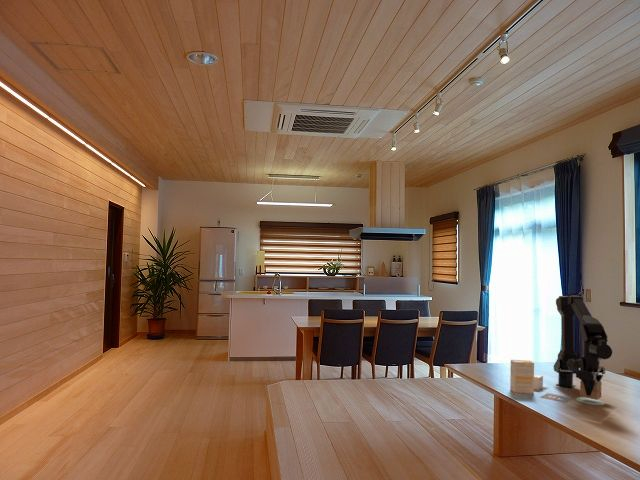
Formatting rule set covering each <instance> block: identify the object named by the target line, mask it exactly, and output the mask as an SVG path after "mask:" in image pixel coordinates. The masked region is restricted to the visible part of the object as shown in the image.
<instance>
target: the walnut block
mask: <svg viewBox="0 0 640 480" xmlns="http://www.w3.org/2000/svg"><path fill="white" fill-rule="evenodd" d="M602 383H603V382H602V380H601V381H596V383H595V385H594V388H593V390H592V392H591V395H590V396H587V394H586V391H585V387H584V384H583V381H582V380H580V384H579V388H580V389H579V391H580V393H579V397H584V398H590V399H595V400H600V398H602V386H603V385H602Z"/></svg>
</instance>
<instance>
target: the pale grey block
mask: <svg viewBox="0 0 640 480" xmlns="http://www.w3.org/2000/svg"><path fill="white" fill-rule="evenodd" d="M543 384H544V376H543V375H538V374H535V373H534V389H537V390H539V389H541V388H543V387H544V385H543ZM537 390H536V391H537Z"/></svg>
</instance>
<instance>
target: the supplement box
mask: <svg viewBox="0 0 640 480" xmlns="http://www.w3.org/2000/svg"><path fill="white" fill-rule="evenodd" d="M534 374H535V362H534V361H531V360H525V359H510V376H509V377H510V382H509V384H510V387H509V389H510V391H511V392H512V393H514V394H528V395H534V393H535V392H534V391H535V390H534Z"/></svg>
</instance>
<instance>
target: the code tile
mask: <svg viewBox="0 0 640 480" xmlns="http://www.w3.org/2000/svg"><path fill="white" fill-rule="evenodd" d="M539 398H540V399H545V400H549V401H552V402H553V401H554V402H560V403H563V404H568V403H569V402H571V401H572V400H575V398H572V397H569V396H563V395H559V394H553V393H551V392H550V393H549V392H547V393H545V394H543V395H542V396H539Z"/></svg>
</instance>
